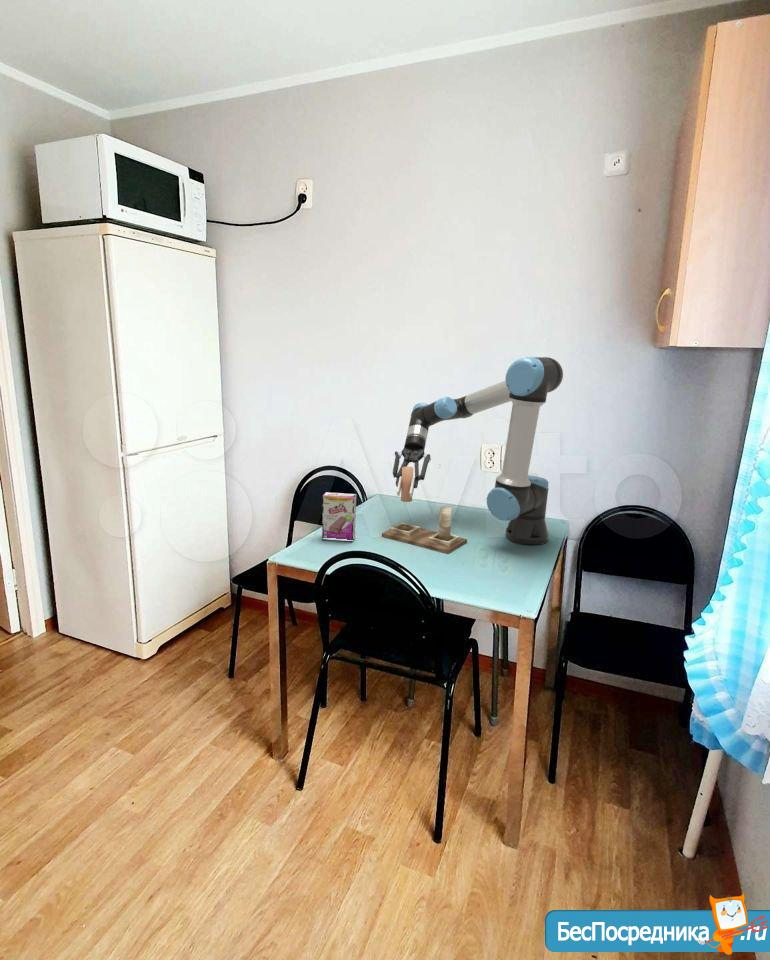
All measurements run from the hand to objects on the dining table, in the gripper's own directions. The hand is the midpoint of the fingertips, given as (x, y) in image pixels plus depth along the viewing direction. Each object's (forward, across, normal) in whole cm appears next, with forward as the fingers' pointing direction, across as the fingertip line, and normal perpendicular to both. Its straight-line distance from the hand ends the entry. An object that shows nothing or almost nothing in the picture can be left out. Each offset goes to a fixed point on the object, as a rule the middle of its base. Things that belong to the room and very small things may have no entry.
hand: (404, 494), depth 196 cm
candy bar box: (+18, +21, -5) cm, 28 cm away
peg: (0, 0, -5) cm, 5 cm away
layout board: (+11, -8, -12) cm, 18 cm away
